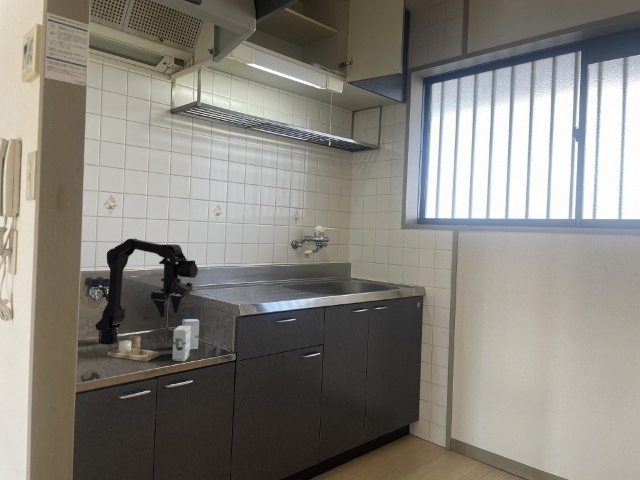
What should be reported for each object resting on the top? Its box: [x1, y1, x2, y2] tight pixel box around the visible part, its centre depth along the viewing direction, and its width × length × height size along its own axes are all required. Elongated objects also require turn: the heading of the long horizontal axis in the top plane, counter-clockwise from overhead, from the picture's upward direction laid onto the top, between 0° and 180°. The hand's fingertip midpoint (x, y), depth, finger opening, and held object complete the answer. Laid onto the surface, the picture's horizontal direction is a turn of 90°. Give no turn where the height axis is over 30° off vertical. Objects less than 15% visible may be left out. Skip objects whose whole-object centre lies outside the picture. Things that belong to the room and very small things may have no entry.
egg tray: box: [107, 348, 160, 362], centre depth 185 cm, size 16×9×2 cm, turn 75°
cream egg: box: [118, 339, 132, 354], centre depth 186 cm, size 4×4×5 cm
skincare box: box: [181, 318, 200, 350], centre depth 201 cm, size 6×4×12 cm
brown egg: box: [128, 335, 141, 349], centre depth 197 cm, size 4×4×5 cm
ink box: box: [171, 325, 191, 362], centre depth 188 cm, size 9×5×12 cm, turn 3°
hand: (169, 314), depth 196 cm, fingers open, 9 cm apart
